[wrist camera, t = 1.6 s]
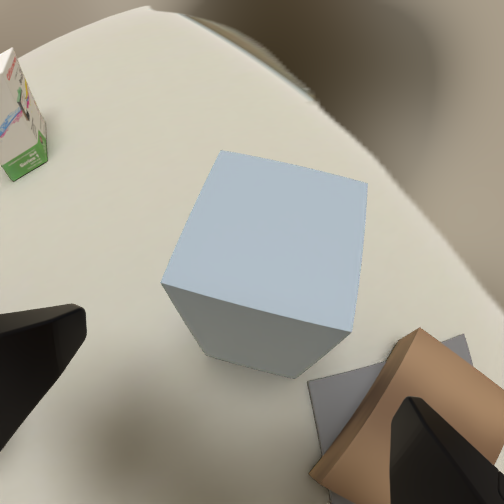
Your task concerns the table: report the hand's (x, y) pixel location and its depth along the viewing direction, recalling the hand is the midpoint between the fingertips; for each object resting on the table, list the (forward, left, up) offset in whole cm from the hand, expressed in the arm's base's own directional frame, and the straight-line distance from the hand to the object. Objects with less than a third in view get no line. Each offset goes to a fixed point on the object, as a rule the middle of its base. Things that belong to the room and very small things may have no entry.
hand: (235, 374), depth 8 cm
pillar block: (+4, -2, -11) cm, 12 cm away
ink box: (+26, +20, -11) cm, 35 cm away
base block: (-6, -10, -11) cm, 16 cm away
